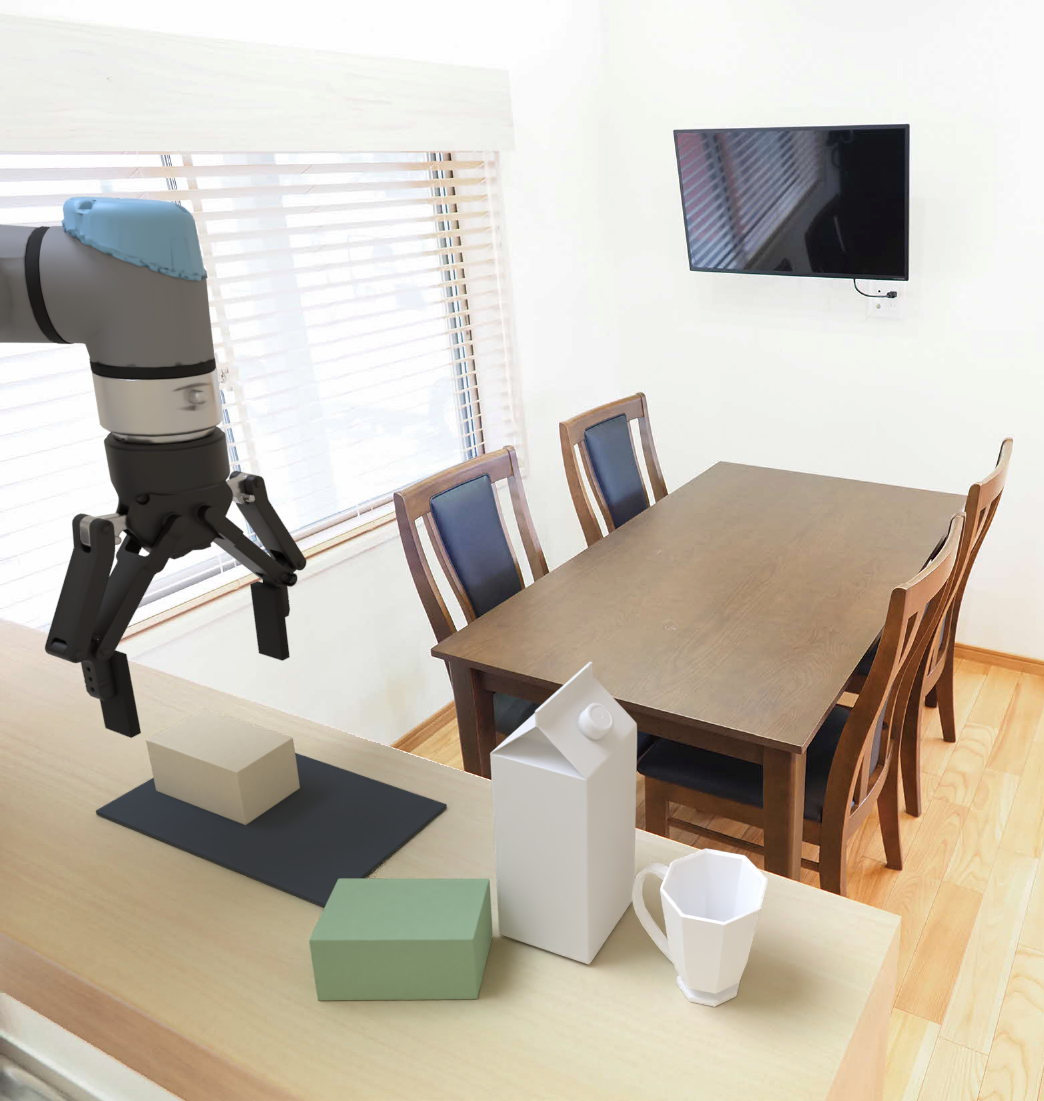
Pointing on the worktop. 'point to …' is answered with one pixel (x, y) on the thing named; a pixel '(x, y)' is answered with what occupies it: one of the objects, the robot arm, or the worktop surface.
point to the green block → (402, 939)
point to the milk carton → (566, 820)
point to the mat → (290, 829)
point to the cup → (705, 920)
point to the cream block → (224, 765)
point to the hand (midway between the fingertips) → (204, 690)
